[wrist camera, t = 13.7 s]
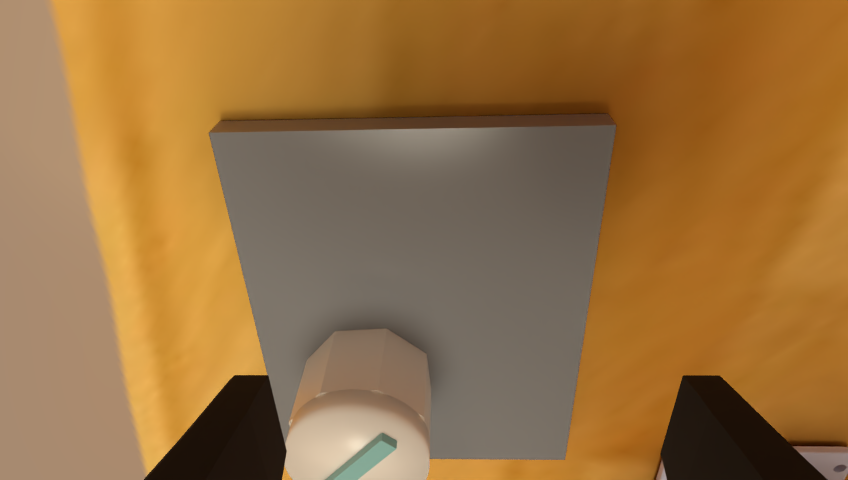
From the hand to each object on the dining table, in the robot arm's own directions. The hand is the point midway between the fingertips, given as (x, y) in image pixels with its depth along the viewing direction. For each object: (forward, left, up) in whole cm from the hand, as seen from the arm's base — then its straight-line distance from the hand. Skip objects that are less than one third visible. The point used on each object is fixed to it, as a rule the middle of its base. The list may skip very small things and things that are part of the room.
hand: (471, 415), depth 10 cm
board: (-6, +2, -10) cm, 11 cm away
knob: (-8, +4, -9) cm, 12 cm away
